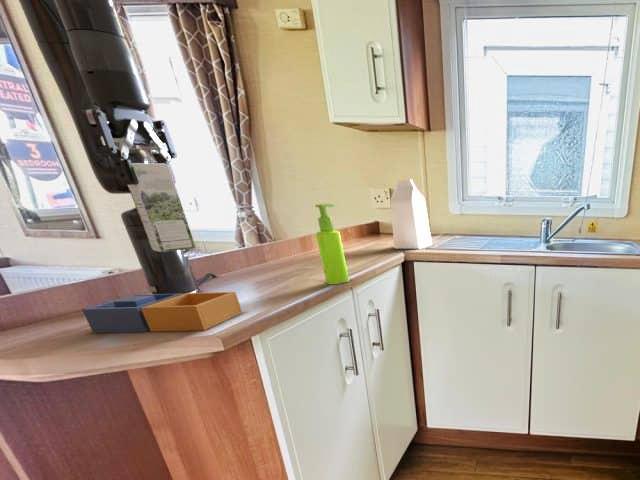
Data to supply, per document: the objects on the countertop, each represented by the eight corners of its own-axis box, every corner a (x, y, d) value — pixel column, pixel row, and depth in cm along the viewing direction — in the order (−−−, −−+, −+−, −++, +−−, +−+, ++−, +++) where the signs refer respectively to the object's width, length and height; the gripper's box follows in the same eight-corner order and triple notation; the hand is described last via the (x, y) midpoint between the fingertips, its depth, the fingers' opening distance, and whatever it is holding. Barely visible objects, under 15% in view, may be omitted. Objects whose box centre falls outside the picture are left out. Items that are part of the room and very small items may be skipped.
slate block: (141, 317, 87) (132, 296, 85) (162, 317, 87) (153, 295, 85) (122, 324, 83) (112, 301, 81) (144, 323, 83) (135, 301, 81)
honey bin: (194, 314, 90) (186, 293, 88) (242, 313, 90) (235, 291, 88) (150, 331, 80) (140, 307, 78) (204, 330, 79) (195, 306, 77)
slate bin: (143, 315, 91) (134, 294, 89) (190, 314, 90) (182, 293, 88) (93, 333, 80) (81, 309, 78) (146, 331, 80) (136, 307, 78)
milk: (394, 248, 179) (384, 180, 168) (408, 244, 189) (399, 180, 178) (419, 248, 175) (410, 179, 164) (432, 244, 185) (424, 179, 174)
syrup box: (187, 246, 83) (158, 164, 77) (197, 248, 80) (168, 162, 73) (152, 250, 79) (118, 164, 73) (161, 252, 76) (126, 161, 69)
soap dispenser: (355, 279, 120) (341, 202, 111) (340, 284, 114) (323, 204, 105) (338, 278, 121) (322, 203, 113) (322, 283, 115) (304, 204, 107)
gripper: (126, 83, 74) (162, 185, 81) (41, 61, 61) (93, 185, 68) (167, 81, 74) (200, 183, 81) (90, 59, 61) (137, 183, 68)
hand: (151, 184), depth 74 cm, fingers closed on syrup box, 8 cm apart
